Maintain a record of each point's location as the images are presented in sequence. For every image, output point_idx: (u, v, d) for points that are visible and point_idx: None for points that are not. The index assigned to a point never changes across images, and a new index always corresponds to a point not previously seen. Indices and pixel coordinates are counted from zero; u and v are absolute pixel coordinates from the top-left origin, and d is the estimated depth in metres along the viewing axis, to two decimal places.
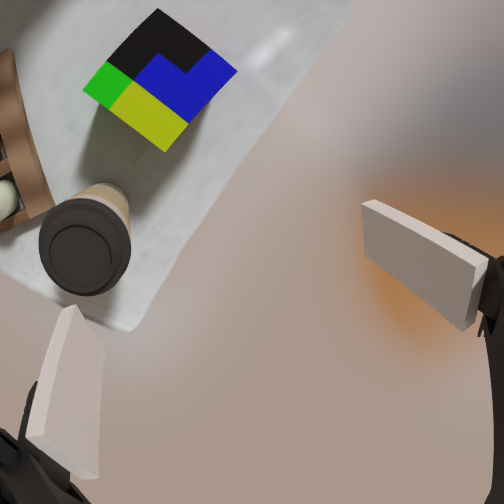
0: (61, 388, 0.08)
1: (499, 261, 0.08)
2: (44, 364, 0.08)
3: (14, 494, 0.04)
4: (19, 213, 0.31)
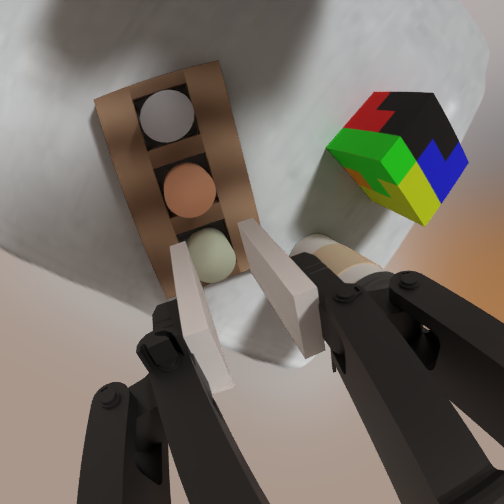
0: (201, 299, 0.10)
1: (330, 296, 0.09)
2: (175, 284, 0.11)
3: (157, 399, 0.07)
4: None
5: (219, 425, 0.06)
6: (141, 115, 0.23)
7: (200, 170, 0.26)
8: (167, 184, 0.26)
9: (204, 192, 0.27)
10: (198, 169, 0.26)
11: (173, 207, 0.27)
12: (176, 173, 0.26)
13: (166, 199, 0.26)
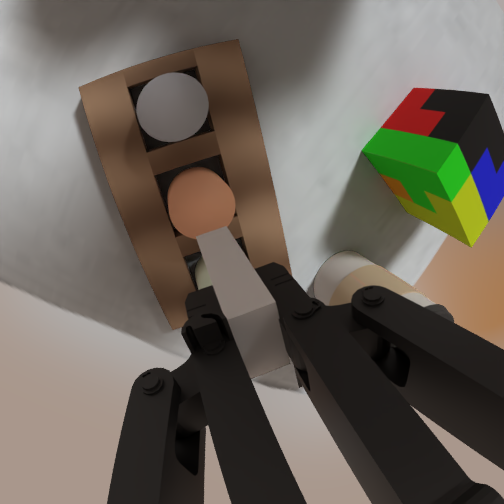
0: None
1: (287, 312, 0.08)
2: None
3: (200, 381, 0.07)
4: None
5: (262, 410, 0.06)
6: (138, 106, 0.17)
7: (216, 178, 0.20)
8: (172, 197, 0.20)
9: (221, 207, 0.21)
10: (213, 177, 0.20)
11: (180, 226, 0.21)
12: (184, 182, 0.20)
13: (171, 216, 0.20)
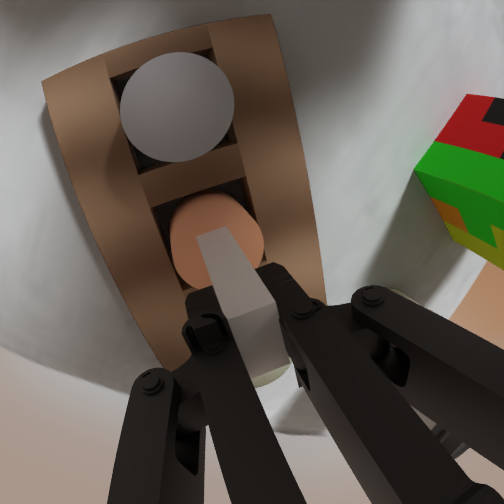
0: None
1: (287, 312, 0.08)
2: None
3: (200, 381, 0.07)
4: None
5: (263, 411, 0.06)
6: (122, 105, 0.10)
7: (238, 211, 0.15)
8: (177, 237, 0.14)
9: (245, 250, 0.16)
10: (234, 209, 0.15)
11: (189, 276, 0.15)
12: (194, 217, 0.14)
13: (176, 263, 0.15)
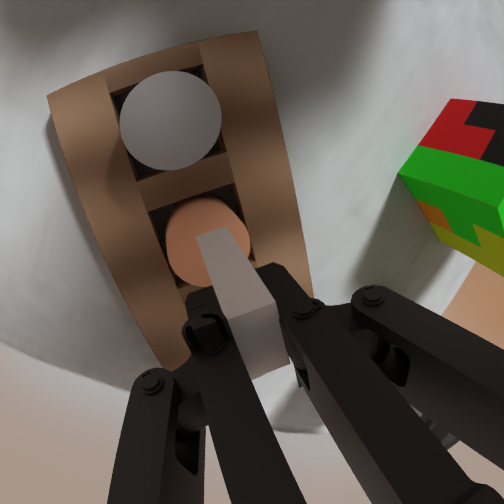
0: None
1: (287, 312, 0.08)
2: None
3: (200, 381, 0.07)
4: None
5: (263, 410, 0.06)
6: (122, 119, 0.12)
7: (226, 213, 0.16)
8: (172, 236, 0.16)
9: None
10: (223, 211, 0.16)
11: (182, 272, 0.17)
12: (186, 218, 0.16)
13: (171, 260, 0.16)
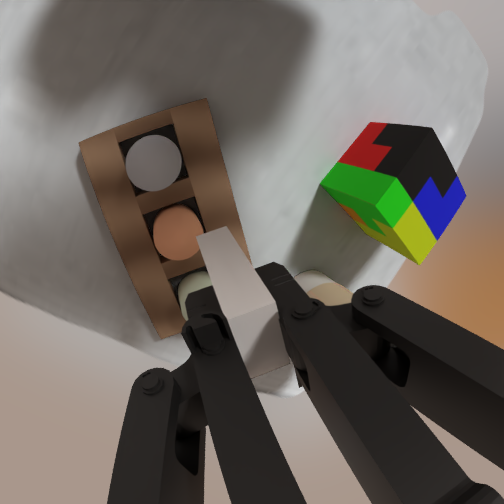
0: None
1: (287, 312, 0.08)
2: None
3: (200, 381, 0.07)
4: None
5: (262, 410, 0.06)
6: (126, 163, 0.23)
7: (188, 214, 0.27)
8: (156, 229, 0.27)
9: (192, 236, 0.28)
10: (186, 214, 0.27)
11: (162, 250, 0.27)
12: (164, 218, 0.26)
13: (155, 243, 0.27)
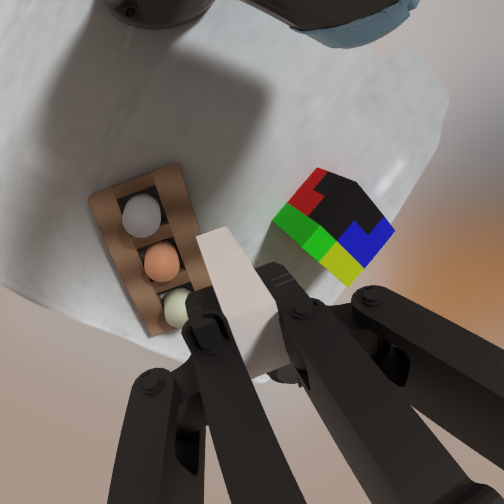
0: None
1: (287, 312, 0.08)
2: None
3: (200, 381, 0.07)
4: None
5: (263, 410, 0.06)
6: (123, 219, 0.33)
7: (167, 251, 0.38)
8: (145, 261, 0.38)
9: (171, 265, 0.39)
10: (166, 250, 0.38)
11: (151, 275, 0.39)
12: (151, 254, 0.37)
13: (146, 270, 0.38)
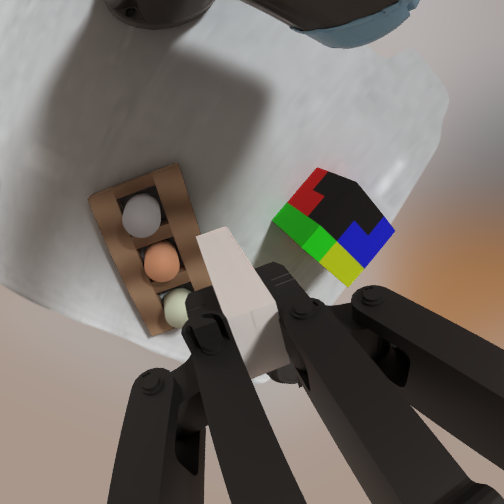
0: None
1: (287, 312, 0.08)
2: None
3: (200, 381, 0.07)
4: None
5: (263, 410, 0.06)
6: (123, 219, 0.33)
7: (167, 251, 0.38)
8: (145, 261, 0.38)
9: (171, 265, 0.39)
10: (166, 250, 0.38)
11: (151, 275, 0.39)
12: (151, 254, 0.37)
13: (146, 270, 0.38)
